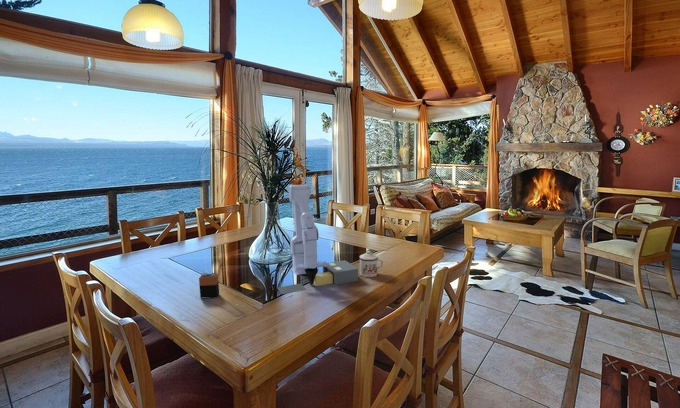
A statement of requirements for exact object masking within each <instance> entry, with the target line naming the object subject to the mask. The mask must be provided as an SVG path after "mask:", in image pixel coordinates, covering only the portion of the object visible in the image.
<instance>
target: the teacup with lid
mask: <svg viewBox="0 0 680 408" xmlns="http://www.w3.org/2000/svg"><path fill="white" fill-rule="evenodd" d="M358 257H359V275H360V276H362V277H364V278H374V277H377V275H378V270H380V269H382V268H383V267H384V260H382V259H381V258H379V257H378V255H377V254H374V253H372V252H371V250H367V251H366V252H365V253H363V254H360V255H359V256H358ZM378 262H380V263H381V264H380V266H378Z"/></svg>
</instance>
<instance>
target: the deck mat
mask: <svg viewBox="0 0 680 408" xmlns="http://www.w3.org/2000/svg"><path fill="white" fill-rule="evenodd" d="M276 289H277V290H278V292H279V293H280V294H281V295H284V294H285V295H286V294H291V293H296V292H297V293H298V292H303V291H307V288H305V287H304V285H303V284H302V283H296V284H288V285H284V286H279V287H276Z"/></svg>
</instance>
